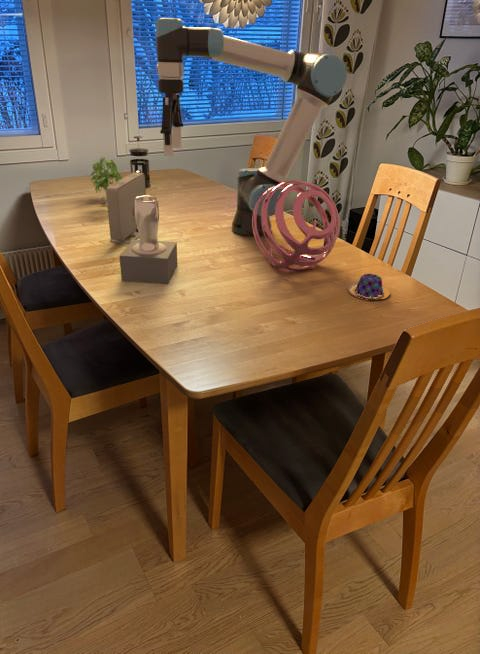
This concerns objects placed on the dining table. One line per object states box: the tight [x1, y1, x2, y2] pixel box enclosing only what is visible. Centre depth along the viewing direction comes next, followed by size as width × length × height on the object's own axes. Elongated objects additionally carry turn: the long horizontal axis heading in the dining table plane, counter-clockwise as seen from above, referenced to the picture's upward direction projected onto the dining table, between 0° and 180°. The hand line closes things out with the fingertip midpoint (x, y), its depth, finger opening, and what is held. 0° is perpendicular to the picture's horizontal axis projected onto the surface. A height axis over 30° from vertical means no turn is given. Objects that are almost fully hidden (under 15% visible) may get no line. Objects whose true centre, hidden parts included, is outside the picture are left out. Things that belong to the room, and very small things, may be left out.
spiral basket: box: [252, 179, 341, 272], centre depth 162 cm, size 28×28×27 cm
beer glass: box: [134, 195, 160, 252], centre depth 149 cm, size 7×7×15 cm
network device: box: [105, 172, 147, 245], centre depth 183 cm, size 26×9×20 cm, turn 168°
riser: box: [119, 239, 178, 285], centre depth 156 cm, size 14×14×8 cm
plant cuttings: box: [90, 156, 123, 205], centre depth 220 cm, size 35×17×22 cm
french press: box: [128, 135, 151, 189], centre depth 245 cm, size 12×9×23 cm
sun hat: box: [348, 273, 384, 301], centre depth 149 cm, size 12×12×5 cm
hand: (173, 152), depth 164 cm, fingers open, 13 cm apart
